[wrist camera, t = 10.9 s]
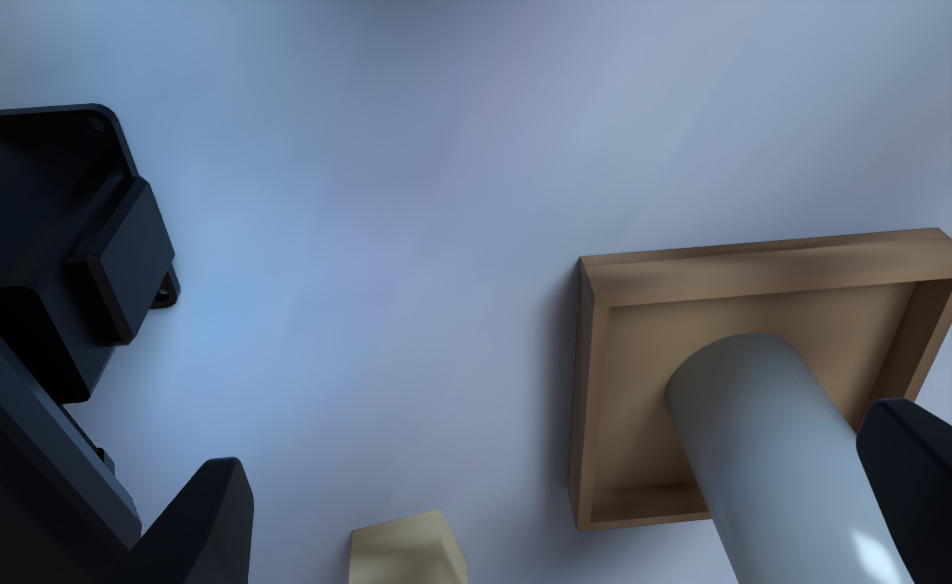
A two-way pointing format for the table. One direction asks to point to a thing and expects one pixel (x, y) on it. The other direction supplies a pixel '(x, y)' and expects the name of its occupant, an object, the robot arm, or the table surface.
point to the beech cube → (407, 552)
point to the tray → (731, 313)
